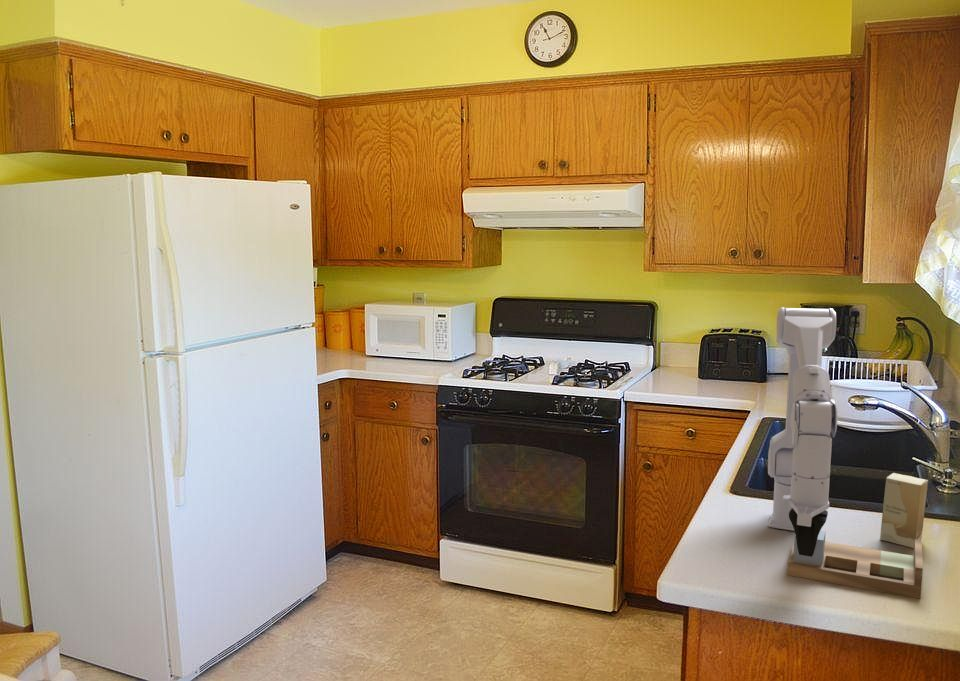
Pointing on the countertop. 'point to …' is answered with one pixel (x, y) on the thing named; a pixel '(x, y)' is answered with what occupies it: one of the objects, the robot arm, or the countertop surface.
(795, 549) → the block
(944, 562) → the countertop surface
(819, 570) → the board
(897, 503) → the skincare box
